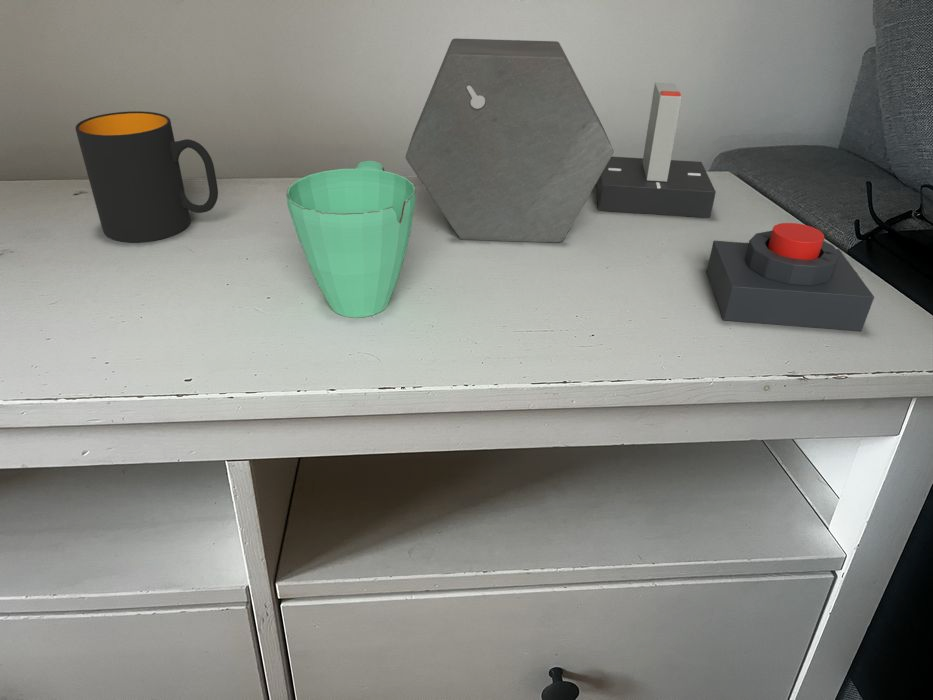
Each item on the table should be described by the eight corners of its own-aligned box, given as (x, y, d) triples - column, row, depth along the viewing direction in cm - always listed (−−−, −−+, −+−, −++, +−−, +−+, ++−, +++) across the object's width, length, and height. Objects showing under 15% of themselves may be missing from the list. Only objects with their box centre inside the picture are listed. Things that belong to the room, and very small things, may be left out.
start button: (810, 243, 62) (816, 224, 61) (824, 263, 58) (831, 243, 58) (763, 240, 62) (768, 221, 61) (773, 260, 59) (779, 240, 58)
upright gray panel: (642, 163, 84) (655, 80, 79) (661, 164, 84) (675, 81, 79) (646, 180, 79) (660, 93, 74) (667, 181, 79) (682, 94, 74)
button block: (828, 280, 66) (845, 230, 63) (861, 331, 59) (882, 276, 56) (706, 272, 67) (717, 221, 64) (723, 320, 60) (737, 266, 57)
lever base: (696, 185, 87) (701, 160, 85) (710, 218, 78) (716, 190, 76) (596, 179, 88) (599, 154, 86) (598, 211, 79) (602, 183, 77)
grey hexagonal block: (627, 172, 76) (530, -14, 66) (639, 199, 69) (533, -3, 60) (488, 249, 81) (381, 87, 72) (488, 281, 74) (370, 107, 65)
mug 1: (210, 245, 70) (190, 138, 64) (87, 241, 70) (57, 134, 64) (236, 212, 76) (220, 113, 71) (125, 208, 77) (100, 109, 71)
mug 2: (411, 335, 56) (408, 216, 51) (287, 331, 57) (271, 211, 51) (427, 255, 69) (426, 151, 63) (324, 251, 69) (315, 148, 64)
